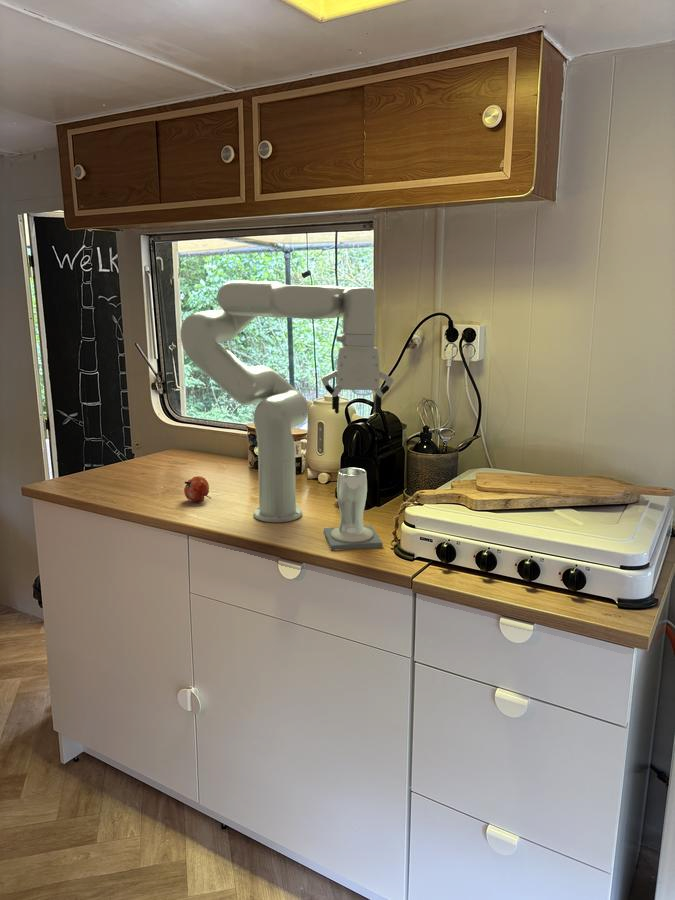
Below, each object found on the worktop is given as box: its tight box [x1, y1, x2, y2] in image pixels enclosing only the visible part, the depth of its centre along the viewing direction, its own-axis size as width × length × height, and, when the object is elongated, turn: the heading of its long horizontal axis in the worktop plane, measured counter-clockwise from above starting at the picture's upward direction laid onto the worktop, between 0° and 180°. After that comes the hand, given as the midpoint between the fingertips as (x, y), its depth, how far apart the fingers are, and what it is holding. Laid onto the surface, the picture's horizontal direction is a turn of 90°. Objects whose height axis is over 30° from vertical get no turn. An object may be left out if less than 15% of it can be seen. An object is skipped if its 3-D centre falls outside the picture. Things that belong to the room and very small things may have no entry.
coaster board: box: [323, 525, 383, 551], centre depth 166 cm, size 12×12×2 cm
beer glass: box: [336, 467, 368, 537], centre depth 164 cm, size 7×7×15 cm
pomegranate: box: [183, 476, 212, 504], centre depth 196 cm, size 7×7×10 cm
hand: (356, 412), depth 169 cm, fingers open, 9 cm apart
